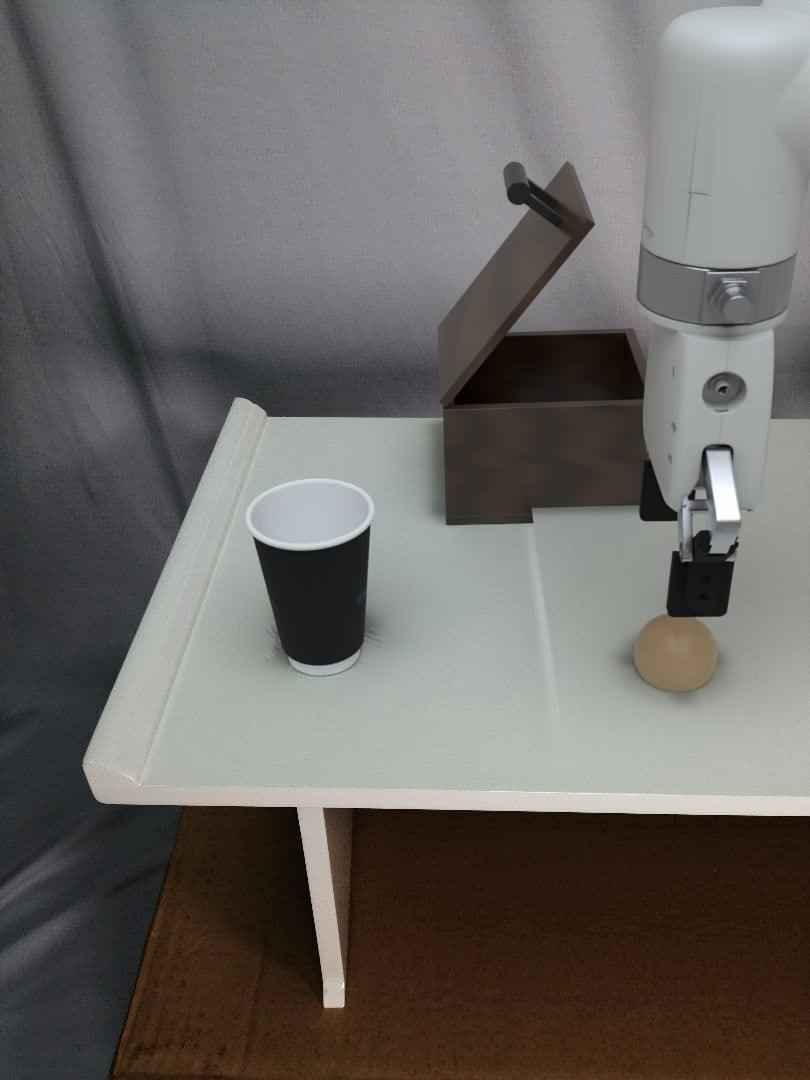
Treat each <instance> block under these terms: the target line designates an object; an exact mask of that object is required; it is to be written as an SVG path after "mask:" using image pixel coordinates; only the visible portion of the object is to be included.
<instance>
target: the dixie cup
mask: <svg viewBox="0 0 810 1080" xmlns="http://www.w3.org/2000/svg"><path fill="white" fill-rule="evenodd" d="M375 516H376V505H375V502H374V499H373V498H372V496H371V495H370V494H369V493H368V492H367V491H365V490H364V489H363V488H361V487H359V486H358V485H355V484H353V483H351V482H347V481H344V480H341V479H332V478H323V477H322V478H321V477H318V478H317V477H315V478H314V477H313V478H303V479H297V480H291V481H288V482H283V483H280V484H277V485H275V486H273V487H271V488H269V489H267V490H265V491H263V492H261V493H260V494H259V495H257V496H256V497H255V498H254V499H253V500H252V501H251V502H250V503H249V504H248V507H247V508H246V510H245V514H244V524H245V527H246V529H247V531H248V532H249V534H250V535H251V536H252V539H253V543H254V546H255V550H256V553H257V557H258V562H259V566H260V569H261V573H262V577H263V581H264V585H265V588H266V592H267V595H268V599H269V604H270V607H271V611H272V614H273V618H274V622H275V627H276V629H277V632H278V637H279V641H280V646H281V648H282V651H283V653H285V655H286V656H287V658H288V661H289V663H290V665H291V666H292V667H293V668H294V669H295V670H296V671H298V672H300V673H302V674H306V675H309V676H317V677H318V676H321V677H323V676H324V677H325V676H331V675H336V674H338V673H342V672H343V671H346V670H347V669H350V668H351V667H352V666H353V665H354V664H356V662H357V661H358V659H359V657H360V654H361V648H362V646H363V644H364V641H365V633H366V631H365V628H366V613H367V612H366V611H367V598H368V597H367V596H368V578H369V561H370V560H369V559H370V558H369V557H370V543H371V542H370V541H371V526H372V523H373V522H374V519H375Z"/></svg>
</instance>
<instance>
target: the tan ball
mask: <svg viewBox="0 0 810 1080" xmlns="http://www.w3.org/2000/svg"><path fill="white" fill-rule="evenodd" d="M718 656H719V655H718V646H717V642H716V639H715V637H714V635H713V633H712V632H711V630H710V629H709V627H708V626H707V625H706V624H704V622H702V621H701V620H700V619H698V618H697V617H671V616H669V615H668V612H667V613H663V614H659V615H657V616H655V617H653V618H651V619H649V620H648V621H647V622H646V623H645V624H644V626H642V628H641V629H640V630H639V632H638V634H637V635H636V638H635V641H634V644H633V659H634V660H633V661H634V665H635V667H636V671H637V672H638V674H639V676H640V677H641V679H643V680H644V681H645V682H646V683H648V684H649V685H651V686H652V687H653V688H656V689H660V690H663V691H667V692H673V693H685V692H691V691H695V690H697V689H700V688H701V687H703V686H705V684H706V683H708V682H709V680H710V679H711V677H712V676H713V674H714V672H715V670H716V668H717V662H718Z"/></svg>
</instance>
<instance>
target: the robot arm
mask: <svg viewBox="0 0 810 1080" xmlns="http://www.w3.org/2000/svg"><path fill="white" fill-rule="evenodd" d="M660 36H661V37H660V39H659V42H658V44H657V49H656V55H655V64H654V73H653V74H654V75H653V83H652V84H653V85H652V98H651V108H650V110H651V111H650V122H649V134H648V135H649V136H648V146H647V158H646V171H645V183H644V194H643V195H644V196H643V206H642V217H641V218H642V220H641V232H640V243H639V254H638V265H637V279H636V291H635V301H634V303H635V304H634V307H635V309H636V311H637V313H638V314H639V315H640V316H642V318H645V319H646V320H647V321H649V322H651V327H650V334H649V343H648V349H647V350H648V351H647V358H646V363H647V367H646V378H645V388H644V404H643V431H644V438H645V442H646V455H647V458H650V459H651V460H644V463H643V474H642V484H641V495H640V505H638V506H639V507H638V515H639V518H640V520H641V521H643V522H651V523H652V522H677V532H678V533H677V534H678V535H677V537H678V550H672V551H671V553H672V554H671V559H670V568H669V577H668V587H667V595H666V596H667V597H666V602H665V608H666V612H667V613H668V615H669V616H671V617H694V618H721V617H724V616H725V615H727V613H728V610H729V609H728V608H729V602H730V595H731V588H732V584H733V583H732V582H733V575H734V570H735V563H736V560H737V557H738V556H737V554H738V548H739V546H740V542H739V541H738V540H739V534H740V532H741V528H742V514H741V511H746V512H748V513H749V512H754V511H756V510H757V509H758V508H759V506H760V505H761V503H762V499H763V491H764V482H765V474H766V465H767V458H768V457H767V456H768V447H769V437H770V429H771V420H772V419H771V417H772V406H773V393H774V379H775V378H774V377H775V376H774V375H775V333H774V331H775V330H774V328H775V327H778V326H779V325H780V324H782V323H783V322H784V321H785V320H786V319H787V316H788V313H789V307H790V300H791V299H790V298H791V292H792V286H793V280H794V275H795V269H796V268H795V266H796V260H797V255H798V249H799V242H800V237H801V231H802V224H803V218H804V213H805V205H806V199H807V193H808V188H809V187H808V186H809V181H810V0H762V1H761V3H760V5H759V6H756V5H754V6H753V5H732V6H731V5H730V6H715V7H707V8H699V9H696V10H695V9H694V10H691V11H689V12H686V13H684V14H681V15H679V16H677V17H676V18H675V19H674V20H672V21H671V22H670V23H668V25H667V26H666V27H665V29H664V30H663V32H662V35H660ZM697 491H705V495H706V498H705V499H704V498H703V499H702V498H700V499H696V494H697ZM704 514H706V515H707V514H708V517H707V522H706V529H699V531H698V532H697V533H696V534H695V535H694V524H693V522H694V521H693V516H694V515H704Z"/></svg>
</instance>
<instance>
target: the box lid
mask: <svg viewBox="0 0 810 1080" xmlns="http://www.w3.org/2000/svg"><path fill="white" fill-rule="evenodd" d="M502 177H503V182H504V187H505V192H506V198H507V200H508V201H509V203H511V204H512V205H514V206H522V205H526V206H527V207H528V210H527V211H526V213H525V214H524V215H523V216H522V217H521V219H520V220H519V222H518V223H517V224H516V226H515V227H514V228H513V229H512V231H511V232H510V233H509V234H508V236H506V238H505V240H504V241H503V242H502V244H501V245H500V246H499V247H498V249H497V250H496V251H495V253H494V254H493V255H492V256H491V258H490V259H489V260H488V262H487V263H486V264H485V265H484V266H483V268H482V269H481V270H480V272H479V273H478V274H477V276H476V277H475V278H474V279H473V281H472V282H471V284H470V285H469V286H468V287H467V288H466V290H465V291H464V293H463V294H462V295H461V296H460V297H459V299H458V300H457V301H456V302H455V304H454V305H453V307H452V308H451V309H450V310H449V312H448V313H447V315H446V316H445V317H444V318H443V320H441V322H440V323H439V325H438V326H437V364H438V365H437V366H438V369H437V371H438V403H439V404H440V405H442V406H443V405H444V406H446V407H447V406H448V405H449V404H450V402H451V401H452V400H453V399H454V398H455V396H456V395H457V394H458V393H459V391H460V390H461V389H462V388H463V387H464V385H465V384H466V383H467V382H468V380H469V379H470V378H471V377H472V375H473V374H474V373H475V372H476V371H477V369H478V368H479V367H480V366H481V364H482V363H483V362H484V361H485V359H486V358H487V357H488V356H489V355H490V353H491V352H492V351H493V350H494V348H495V347H496V346H497V345H498V344H499V342H500V341H501V340H502V339H503V337H504V336H505V335H506V334H507V332H510V330H512V328H513V327H514V325H516V323H517V322H518V321H519V319H520V318H521V317H522V316H523V314H524V313H525V312H526V311H527V309H528V308H529V307H530V306H531V305H532V303H533V302H534V301H535V299H536V298H537V297H538V296H539V295H540V293H541V292H542V291H543V290H544V288H545V287H546V286H547V285H548V283H549V282H550V281H551V280H552V278H554V276H555V275H556V274H557V272H558V271H559V270H560V269H561V267H562V266H563V265H564V264H565V263H566V261H568V259H569V258H570V256H571V255H572V254H573V253H574V252H575V250H576V249H577V248H578V247H579V246H580V244H581V243H582V242H583V241H584V239H585V238H586V237H587V236H588V234H590V232H591V230H592V229H594V227H595V226H596V222H595V220H594V216H593V215H592V211H591V208H590V206H589V204H588V200H587V198H586V195H585V192H584V190H583V188H582V184H581V181H580V179H579V177H578V173H577V171H576V168H575V165H573V164H572V163H571V162H569V161H568V160H566V161H565V162H564V163H563V164H562V166H561V167H560V168H559V170H558V171H557V173H555V175H554V177H553V178H552V179H551V180H550V182H549V183H548V184H547V185H546V187H545V188H543V187H542V186H541V185H539V184H537V183H536V182H535V181H533V180H532V179H531V178H530V177H528V176H527V172H526V168H525V166H524V165H523V164H522V163H520V162H519V161H511V162H509V163H507V164H506V165H505V166H504V168H503V171H502Z"/></svg>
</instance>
